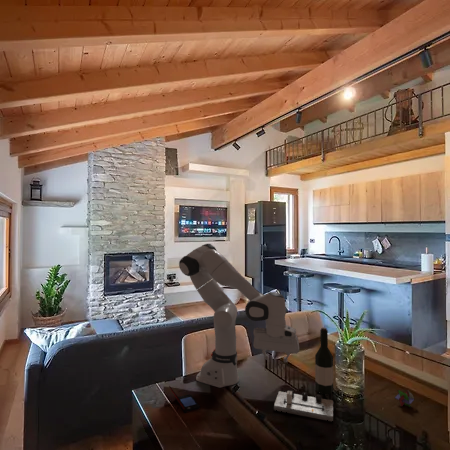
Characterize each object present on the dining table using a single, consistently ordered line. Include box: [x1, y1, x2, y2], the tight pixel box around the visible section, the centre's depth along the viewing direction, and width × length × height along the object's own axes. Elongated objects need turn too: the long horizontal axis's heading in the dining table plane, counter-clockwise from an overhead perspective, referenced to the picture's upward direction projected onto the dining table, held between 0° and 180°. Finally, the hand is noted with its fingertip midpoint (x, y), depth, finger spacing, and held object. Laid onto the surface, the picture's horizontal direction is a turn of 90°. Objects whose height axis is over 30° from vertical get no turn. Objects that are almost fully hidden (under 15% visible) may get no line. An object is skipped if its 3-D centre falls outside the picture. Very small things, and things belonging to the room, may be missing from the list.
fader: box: [286, 390, 292, 404], centre depth 135 cm, size 2×3×4 cm, turn 161°
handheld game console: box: [168, 385, 201, 414], centre depth 136 cm, size 12×11×7 cm
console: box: [273, 389, 334, 422], centre depth 134 cm, size 24×13×4 cm, turn 71°
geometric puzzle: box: [394, 389, 416, 408], centre depth 137 cm, size 7×7×8 cm
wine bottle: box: [314, 327, 334, 395], centre depth 150 cm, size 8×8×30 cm
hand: (276, 360), depth 137 cm, fingers open, 7 cm apart
